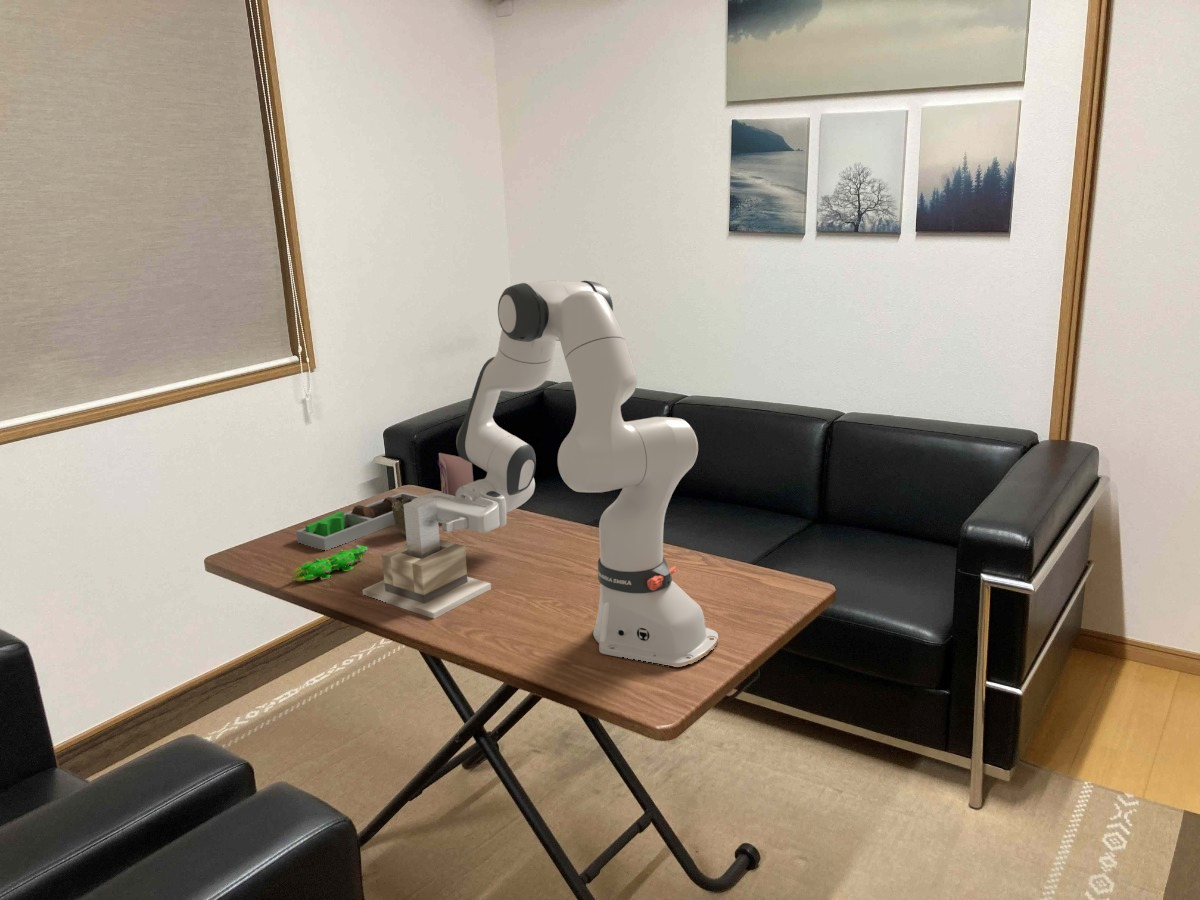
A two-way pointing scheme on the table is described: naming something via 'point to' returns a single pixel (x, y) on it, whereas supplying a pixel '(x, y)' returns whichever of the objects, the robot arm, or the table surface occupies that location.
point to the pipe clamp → (327, 525)
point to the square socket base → (427, 581)
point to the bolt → (376, 508)
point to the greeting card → (454, 473)
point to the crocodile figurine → (330, 564)
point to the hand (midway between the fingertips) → (427, 523)
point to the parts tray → (351, 528)
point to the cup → (400, 514)
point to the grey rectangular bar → (422, 527)
